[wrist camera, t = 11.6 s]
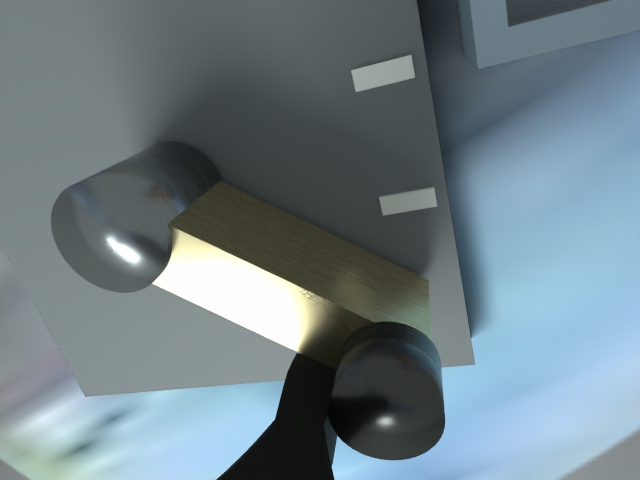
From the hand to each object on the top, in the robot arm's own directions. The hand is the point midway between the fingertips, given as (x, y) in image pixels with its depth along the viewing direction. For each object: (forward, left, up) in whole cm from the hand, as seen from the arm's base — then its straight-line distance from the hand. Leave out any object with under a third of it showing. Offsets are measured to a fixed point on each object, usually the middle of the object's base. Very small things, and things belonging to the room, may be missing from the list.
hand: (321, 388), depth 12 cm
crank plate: (-5, -3, -4) cm, 7 cm away
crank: (-3, -1, -3) cm, 4 cm away
